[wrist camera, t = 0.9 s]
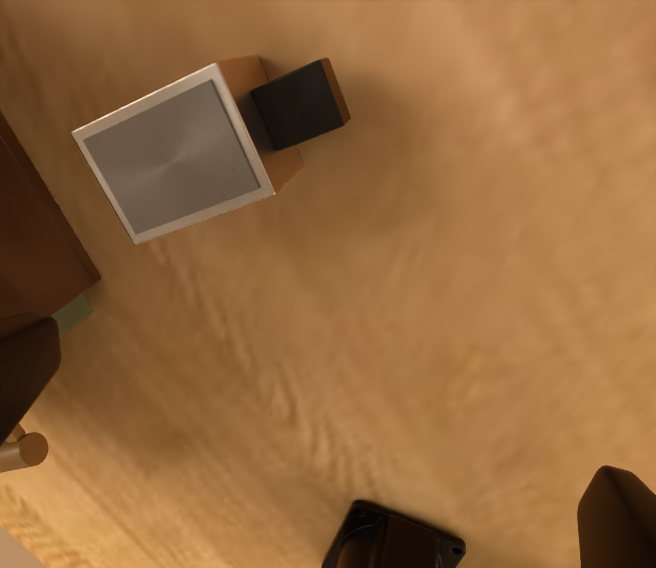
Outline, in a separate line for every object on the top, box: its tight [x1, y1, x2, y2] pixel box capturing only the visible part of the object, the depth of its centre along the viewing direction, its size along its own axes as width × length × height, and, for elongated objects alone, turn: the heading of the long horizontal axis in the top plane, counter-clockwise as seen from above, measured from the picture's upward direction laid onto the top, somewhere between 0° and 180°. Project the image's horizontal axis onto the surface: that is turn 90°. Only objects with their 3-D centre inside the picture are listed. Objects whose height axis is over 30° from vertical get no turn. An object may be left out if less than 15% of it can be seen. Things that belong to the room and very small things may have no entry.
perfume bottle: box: [71, 55, 351, 245], centre depth 19 cm, size 9×4×4 cm, turn 113°
